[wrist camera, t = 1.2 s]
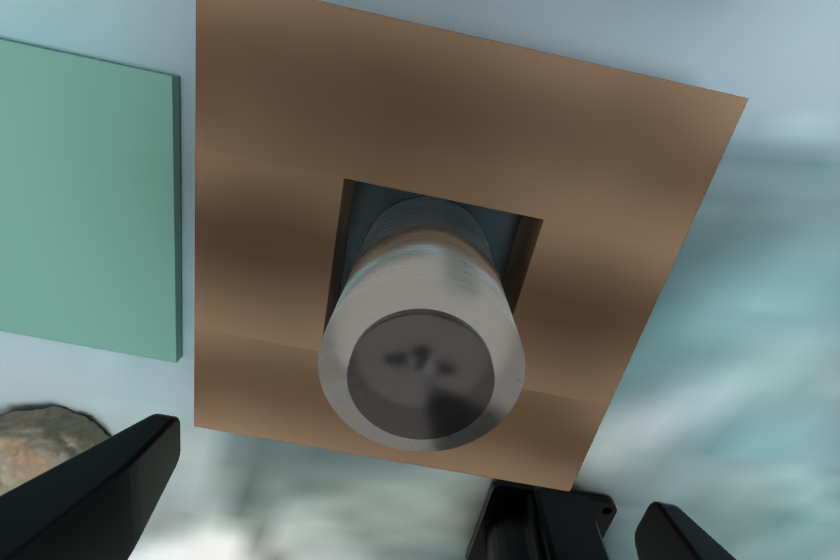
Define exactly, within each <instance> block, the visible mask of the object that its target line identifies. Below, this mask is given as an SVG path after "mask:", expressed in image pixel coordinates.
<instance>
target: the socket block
mask: <svg viewBox="0 0 840 560" xmlns="http://www.w3.org/2000/svg"><path fill="white" fill-rule="evenodd" d="M748 99H749V98H744V97H740V96H735V95H731V94H727V93H722V92H718V91H713V90H709V89H705V88H700V87H696V86H691V85H687V84H683V83H678V82H674V81H669V80H665V79H660V78H656V77H652V76H647V75H643V74H638V73H634V72H630V71H625V70H621V69H616V68H612V67H607V66H603V65H599V64H594V63H590V62H585V61H581V60H577V59H572V58H568V57H563V56H559V55H555V54H550V53H546V52H541V51H537V50H532V49H528V48H524V47H519V46H515V45H510V44H506V43H502V42H497V41H493V40H488V39H484V38H480V37H475V36H471V35H466V34H462V33H457V32H453V31H449V30H444V29H440V28H435V27H431V26H427V25H422V24H418V23H413V22H409V21H404V20H400V19H396V18H391V17H387V16H382V15H378V14H374V13H369V12H365V11H360V10H356V9H352V8H347V7H343V6H338V5H334V4H329V3H325V2H321V1H316V0H196V146H195V367H194V426H196V427H202V428H208V429H213V430H219V431H225V432H231V433H236V434H242V435H248V436H254V437H259V438H265V439H271V440H276V441H282V442H288V443H294V444H299V445H305V446H311V447H317V448H322V449H328V450H334V451H340V452H345V453H351V454H357V455H362V456H368V457H374V458H380V459H385V460H391V461H397V462H403V463H408V464H414V465H420V466H426V467H431V468H437V469H443V470H449V471H454V472H460V473H466V474H471V475H477V476H483V477H489V478H494V479H500V480H506V481H512V482H517V483H523V484H529V485H535V486H540V487H546V488H552V489H557V490H563V491H569V492H570V490H571V487H572V485H573V483H574V481H575V479H576V476H577V474H578V472H579V470H580V468H581V465H582V463H583V461H584V459H585V457H586V454H587V452H588V450H589V448H590V446H591V444H592V441H593V439H594V437H595V435H596V433H597V430H598V428H599V426H600V424H601V422H602V419H603V417H604V415H605V413H606V411H607V408H608V406H609V404H610V402H611V400H612V397H613V395H614V393H615V391H616V389H617V386H618V384H619V382H620V380H621V378H622V375H623V373H624V371H625V369H626V367H627V365H628V362H629V360H630V358H631V356H632V354H633V351H634V349H635V347H636V345H637V343H638V340H639V338H640V336H641V334H642V332H643V329H644V327H645V325H646V323H647V321H648V318H649V316H650V314H651V312H652V310H653V307H654V305H655V303H656V301H657V299H658V296H659V294H660V292H661V290H662V288H663V286H664V283H665V281H666V279H667V277H668V275H669V272H670V270H671V268H672V266H673V264H674V261H675V259H676V257H677V255H678V253H679V250H680V248H681V246H682V244H683V242H684V239H685V237H686V235H687V233H688V231H689V228H690V226H691V224H692V222H693V220H694V217H695V215H696V213H697V211H698V209H699V207H700V204H701V202H702V200H703V198H704V196H705V193H706V191H707V189H708V187H709V185H710V182H711V180H712V178H713V176H714V174H715V171H716V169H717V167H718V165H719V163H720V160H721V158H722V156H723V154H724V152H725V149H726V147H727V145H728V143H729V141H730V138H731V136H732V134H733V132H734V130H735V128H736V125H737V123H738V121H739V119H740V117H741V114H742V112H743V110H744V108H745V106H746V103H747V101H748ZM355 181H360V182H365V183H369V184H374V185H379V186H384V187H389V188H394V189H398V190H403V191H408V192H413V193H418V194H423V195H427V196H432V197H437V198H442V199H447V200H452V201H457V202H461V203H466V204H471V205H476V206H481V207H486V208H490V209H495V210H500V211H505V212H510V213H515V214H519V215H522V216H521V219H520V223H519V226H518V229H517V233H516V236H515V239H514V243H513V246H512V249H511V253H510V256H509V259H508V263H507V266H506V269H505V273H504V276H503V279H502V283H501V284H502V287H503V289H504V292H505V295H506V298H507V301H508V304H509V307H510V310H511V313H512V316H513V319H514V322H515V325H516V328H517V331H518V334H519V337H520V340H521V343H522V346H523V351H524V356H525V375H524V382H523V385H522V389H521V392H520V394H519V397H518V399H517V401H516V403H515V404H514V406H513V408H512V409H511V411H510V412H509V413H508V415H507V416H506V417H505V418H504V419H503V420H502V421H501V422H500V423H499V424H498V425H497V426H496V427H495V428H494V429H492V430H491V431H489V432H488V433H487V434H485V435H484V436H482V437H480V438H478V439H476V440H474V441H472V442H470V443H467V444H465V445H462V446H459V447H456V448H452V449H447V450H442V451H432V452H413V451H405V450H399V449H395V448H390V447H387V446H384V445H381V444H379V443H376V442H374V441H372V440H370V439H368V438H366V437H364V436H363V435H361V434H359V433H358V432H356V431H355V430H354V429H352V428H351V427H350V426H348V425H347V424H346V423H345V422H344V421H343V420H342V419H341V418H340V417H339V416H338V414H337V413H336V412H335V411H334V409H333V408H332V407H331V405H330V403H329V402H328V400H327V398H326V396H325V394H324V391H323V389H322V386H321V382H320V379H319V372H318V353H319V348H320V343H321V340H322V338H323V335H324V332H325V330H326V328H327V325H328V323H329V321H330V318H331V316H332V314H333V312H334V309H335V307H336V305H337V302H338V299H339V292H340V285H341V278H342V271H343V264H344V258H345V251H346V244H347V237H348V230H349V223H350V216H351V209H352V202H353V195H354V188H355Z"/></svg>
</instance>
